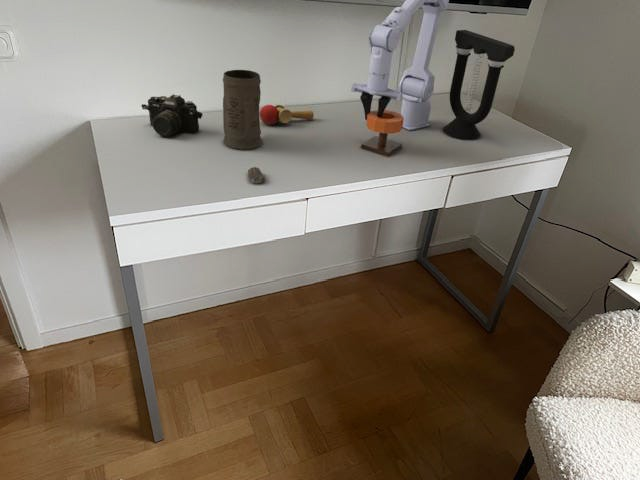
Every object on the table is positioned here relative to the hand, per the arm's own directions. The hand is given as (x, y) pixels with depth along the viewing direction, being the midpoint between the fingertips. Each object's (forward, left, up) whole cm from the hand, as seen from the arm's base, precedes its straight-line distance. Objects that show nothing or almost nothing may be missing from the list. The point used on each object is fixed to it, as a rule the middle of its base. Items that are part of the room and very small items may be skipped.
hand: (372, 120), depth 144 cm
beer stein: (+31, -20, -8) cm, 38 cm away
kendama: (+12, -27, -8) cm, 30 cm away
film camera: (+47, -35, -8) cm, 59 cm away
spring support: (-35, +7, -8) cm, 36 cm away
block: (+41, +3, -8) cm, 42 cm away
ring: (-2, +3, -1) cm, 4 cm away
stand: (-2, +3, -8) cm, 9 cm away
